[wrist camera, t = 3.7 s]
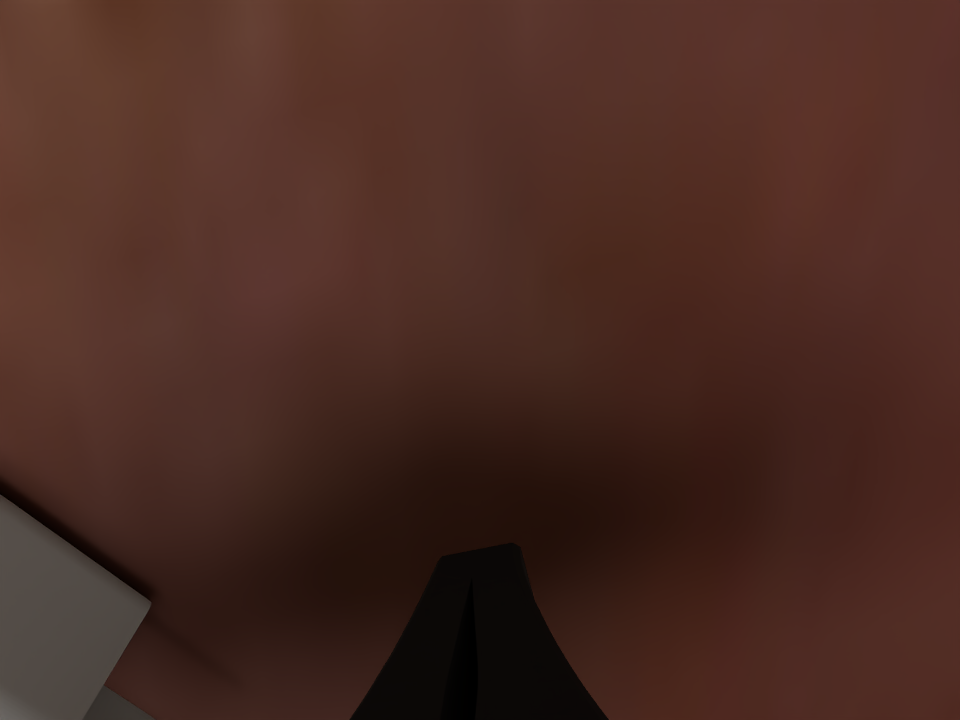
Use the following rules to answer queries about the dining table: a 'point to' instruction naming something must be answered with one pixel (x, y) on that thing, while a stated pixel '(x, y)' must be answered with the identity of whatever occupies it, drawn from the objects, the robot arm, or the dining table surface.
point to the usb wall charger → (60, 626)
